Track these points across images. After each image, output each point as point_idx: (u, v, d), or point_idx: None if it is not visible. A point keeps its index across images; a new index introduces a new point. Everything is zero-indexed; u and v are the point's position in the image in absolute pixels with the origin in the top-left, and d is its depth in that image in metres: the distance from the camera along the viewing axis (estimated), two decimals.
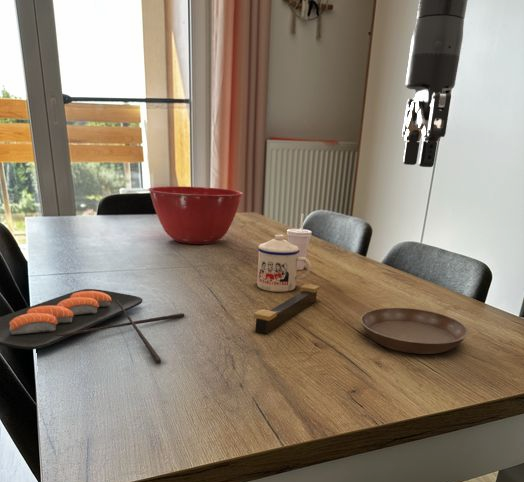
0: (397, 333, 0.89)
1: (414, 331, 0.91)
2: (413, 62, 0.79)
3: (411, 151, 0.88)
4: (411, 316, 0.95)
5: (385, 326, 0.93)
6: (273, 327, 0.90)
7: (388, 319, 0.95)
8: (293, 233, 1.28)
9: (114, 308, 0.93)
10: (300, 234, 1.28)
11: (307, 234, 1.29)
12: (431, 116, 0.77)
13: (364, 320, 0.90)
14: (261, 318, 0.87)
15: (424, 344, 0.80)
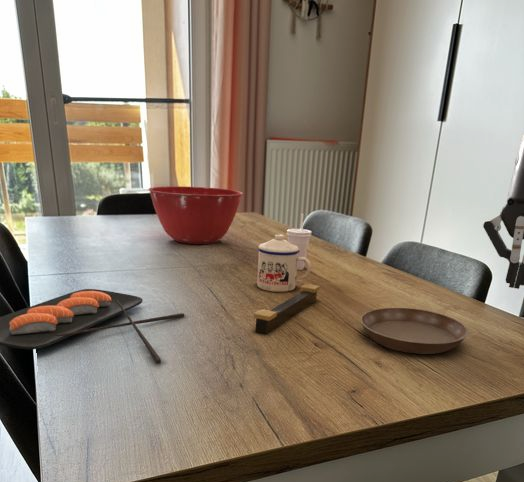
0: (397, 333, 0.89)
1: (414, 331, 0.91)
2: None
3: None
4: (411, 316, 0.95)
5: (385, 326, 0.92)
6: (273, 327, 0.90)
7: (388, 318, 0.95)
8: (293, 233, 1.28)
9: (114, 308, 0.93)
10: (300, 234, 1.28)
11: (307, 234, 1.29)
12: None
13: (364, 320, 0.90)
14: (261, 318, 0.87)
15: (424, 344, 0.80)
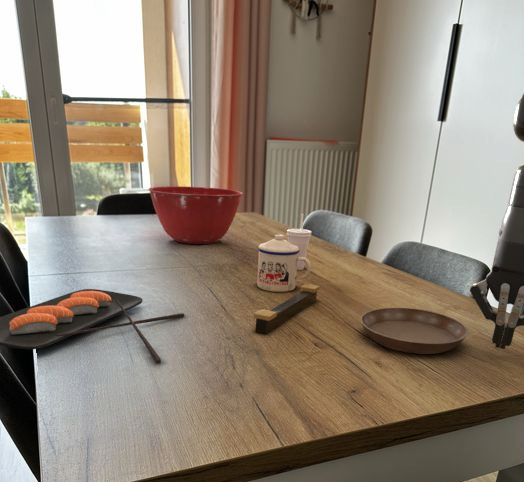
0: (397, 333, 0.89)
1: (414, 331, 0.91)
2: None
3: (502, 334, 0.82)
4: (411, 316, 0.95)
5: (385, 326, 0.92)
6: (273, 327, 0.90)
7: (388, 318, 0.95)
8: (293, 233, 1.28)
9: (114, 308, 0.93)
10: (300, 234, 1.28)
11: (307, 234, 1.29)
12: None
13: (364, 320, 0.90)
14: (261, 318, 0.87)
15: (424, 344, 0.80)
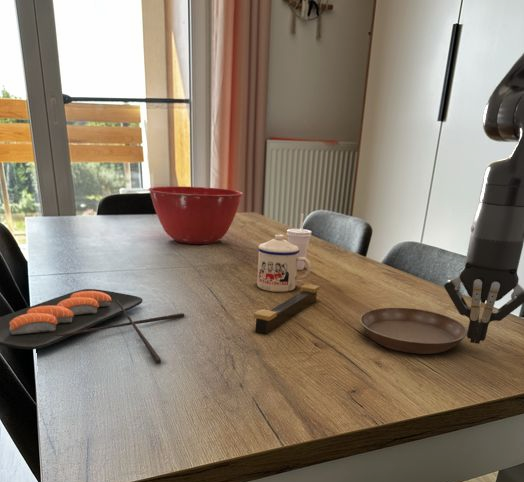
0: (396, 333, 0.90)
1: (413, 331, 0.91)
2: (504, 248, 0.74)
3: (477, 329, 0.83)
4: (410, 316, 0.95)
5: (384, 326, 0.93)
6: (273, 327, 0.90)
7: (387, 318, 0.95)
8: (293, 233, 1.28)
9: (114, 308, 0.93)
10: (300, 234, 1.28)
11: (307, 234, 1.29)
12: (511, 310, 0.79)
13: (363, 320, 0.90)
14: (261, 318, 0.87)
15: (424, 344, 0.80)
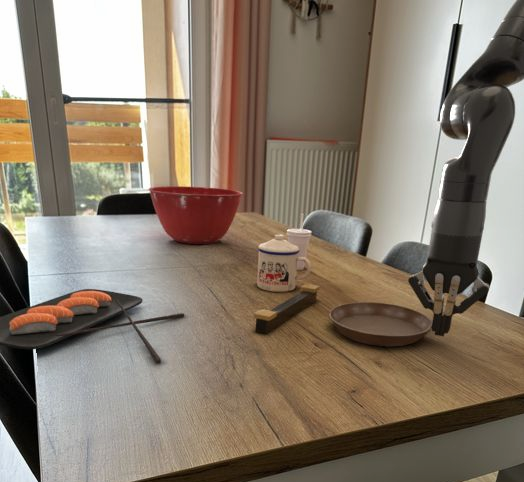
0: (365, 326, 0.92)
1: (382, 325, 0.93)
2: (461, 243, 0.77)
3: None
4: (380, 310, 0.98)
5: (354, 320, 0.95)
6: (273, 327, 0.90)
7: (357, 313, 0.97)
8: (293, 233, 1.28)
9: (114, 308, 0.93)
10: (300, 234, 1.28)
11: (307, 234, 1.29)
12: (472, 302, 0.81)
13: (333, 314, 0.93)
14: (261, 318, 0.87)
15: (389, 336, 0.82)
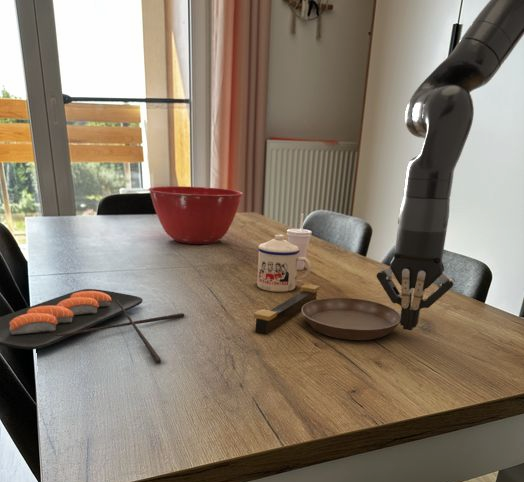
0: (337, 321, 0.94)
1: (353, 319, 0.95)
2: (425, 239, 0.79)
3: None
4: (353, 306, 1.00)
5: (327, 315, 0.97)
6: (273, 327, 0.90)
7: (331, 308, 0.99)
8: (293, 233, 1.28)
9: (114, 308, 0.93)
10: (300, 234, 1.28)
11: (307, 234, 1.29)
12: (437, 297, 0.83)
13: (306, 309, 0.95)
14: (261, 318, 0.87)
15: (357, 330, 0.84)
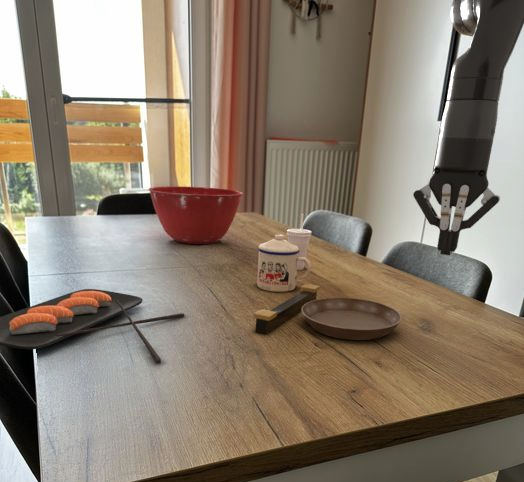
0: (337, 321, 0.94)
1: (353, 319, 0.95)
2: (471, 146, 0.72)
3: None
4: (353, 305, 1.00)
5: (327, 315, 0.97)
6: (273, 327, 0.90)
7: (331, 308, 0.99)
8: (293, 233, 1.28)
9: (114, 308, 0.93)
10: (300, 234, 1.28)
11: (307, 234, 1.29)
12: (481, 215, 0.76)
13: (306, 309, 0.95)
14: (261, 318, 0.87)
15: (357, 330, 0.84)
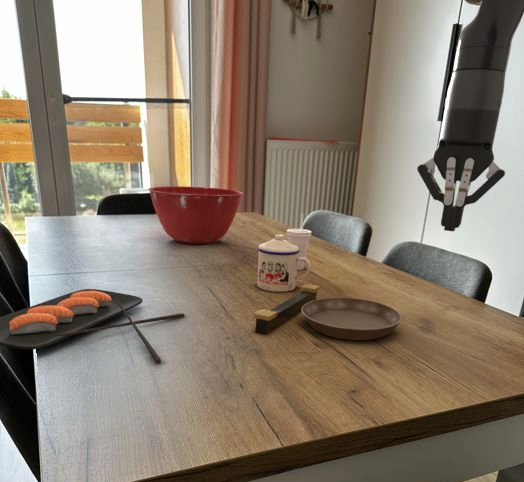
0: (337, 321, 0.94)
1: (353, 319, 0.95)
2: (477, 117, 0.71)
3: None
4: (353, 305, 1.00)
5: (327, 315, 0.97)
6: (273, 327, 0.90)
7: (331, 308, 0.99)
8: (293, 233, 1.28)
9: (114, 308, 0.93)
10: (300, 234, 1.28)
11: (307, 234, 1.29)
12: (486, 189, 0.75)
13: (306, 309, 0.95)
14: (261, 318, 0.87)
15: (357, 330, 0.84)
